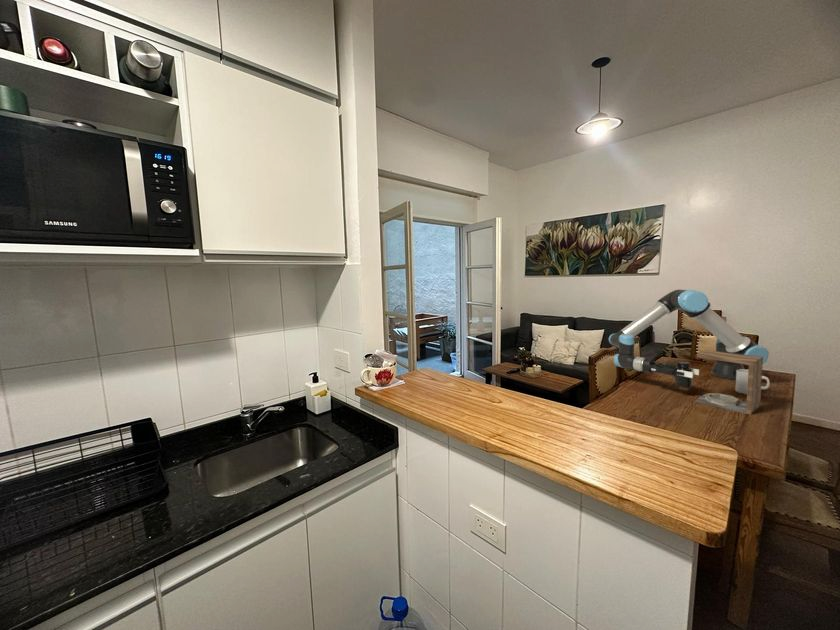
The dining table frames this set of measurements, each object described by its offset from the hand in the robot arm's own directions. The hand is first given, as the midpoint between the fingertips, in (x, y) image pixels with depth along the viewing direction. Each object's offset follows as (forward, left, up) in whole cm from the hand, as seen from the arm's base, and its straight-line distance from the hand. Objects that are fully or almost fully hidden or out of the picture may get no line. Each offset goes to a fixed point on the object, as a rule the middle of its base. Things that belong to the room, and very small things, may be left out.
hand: (695, 373), depth 162 cm
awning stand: (0, +12, -12) cm, 17 cm away
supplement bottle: (0, -5, -7) cm, 9 cm away
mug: (-28, +14, -12) cm, 33 cm away
